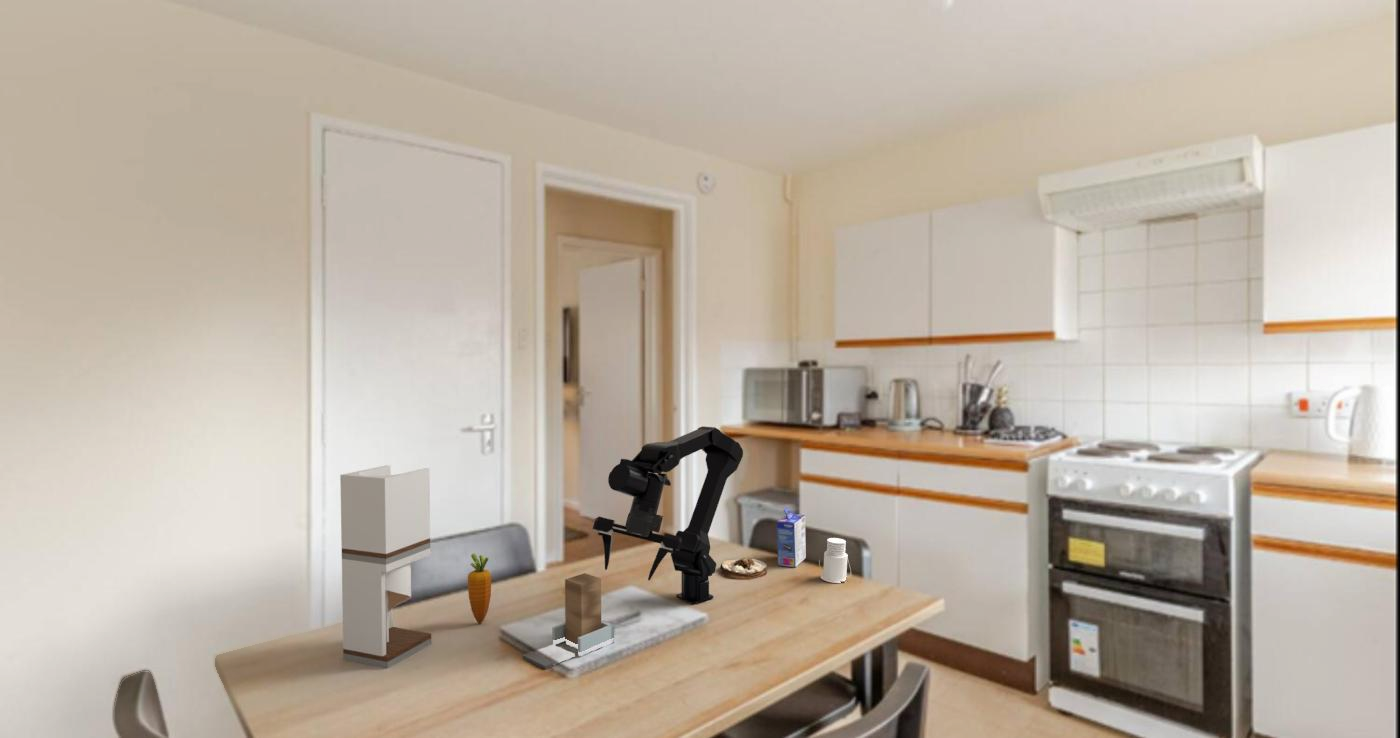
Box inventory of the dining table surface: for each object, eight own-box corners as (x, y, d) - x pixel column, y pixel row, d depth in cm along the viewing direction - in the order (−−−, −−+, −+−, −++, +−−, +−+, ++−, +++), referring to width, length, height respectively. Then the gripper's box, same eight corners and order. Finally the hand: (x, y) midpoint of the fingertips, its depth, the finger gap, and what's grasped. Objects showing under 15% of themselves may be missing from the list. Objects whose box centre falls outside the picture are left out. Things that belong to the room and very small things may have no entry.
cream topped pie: (714, 564, 192) (714, 549, 192) (769, 565, 192) (769, 549, 191) (715, 582, 177) (715, 566, 177) (774, 583, 177) (775, 566, 177)
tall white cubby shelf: (387, 668, 129) (384, 478, 128) (343, 659, 133) (340, 474, 131) (431, 643, 140) (429, 468, 138) (389, 636, 143) (386, 465, 142)
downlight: (818, 582, 176) (820, 542, 175) (818, 573, 182) (820, 535, 182) (851, 585, 174) (853, 545, 174) (849, 576, 181) (852, 538, 181)
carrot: (496, 623, 150) (495, 553, 149) (475, 630, 146) (474, 558, 146) (484, 617, 153) (483, 549, 153) (463, 623, 149) (462, 554, 149)
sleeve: (586, 631, 146) (586, 614, 145) (614, 642, 140) (614, 625, 140) (520, 657, 133) (520, 638, 133) (548, 670, 128) (548, 651, 128)
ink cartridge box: (787, 555, 198) (787, 504, 198) (806, 558, 196) (806, 506, 196) (776, 565, 189) (776, 512, 189) (795, 568, 187) (796, 514, 187)
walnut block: (585, 636, 143) (584, 573, 143) (601, 643, 140) (601, 578, 139) (565, 644, 139) (565, 579, 139) (581, 651, 136) (581, 584, 136)
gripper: (601, 487, 143) (580, 564, 139) (690, 509, 143) (671, 587, 139) (604, 492, 154) (585, 564, 150) (687, 512, 154) (670, 585, 150)
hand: (627, 575), depth 147 cm, fingers open, 9 cm apart
